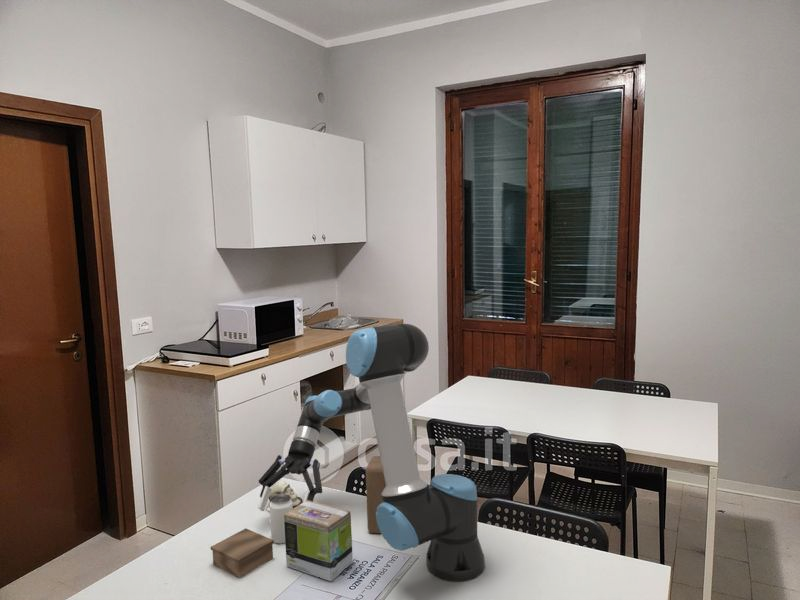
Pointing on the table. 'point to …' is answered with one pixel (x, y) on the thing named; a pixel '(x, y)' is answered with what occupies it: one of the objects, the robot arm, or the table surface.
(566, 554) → the table surface
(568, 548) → the table surface
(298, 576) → the table surface
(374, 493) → the block
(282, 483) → the skull
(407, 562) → the table surface
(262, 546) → the pedestal
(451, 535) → the robot arm
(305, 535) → the tea box
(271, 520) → the can
